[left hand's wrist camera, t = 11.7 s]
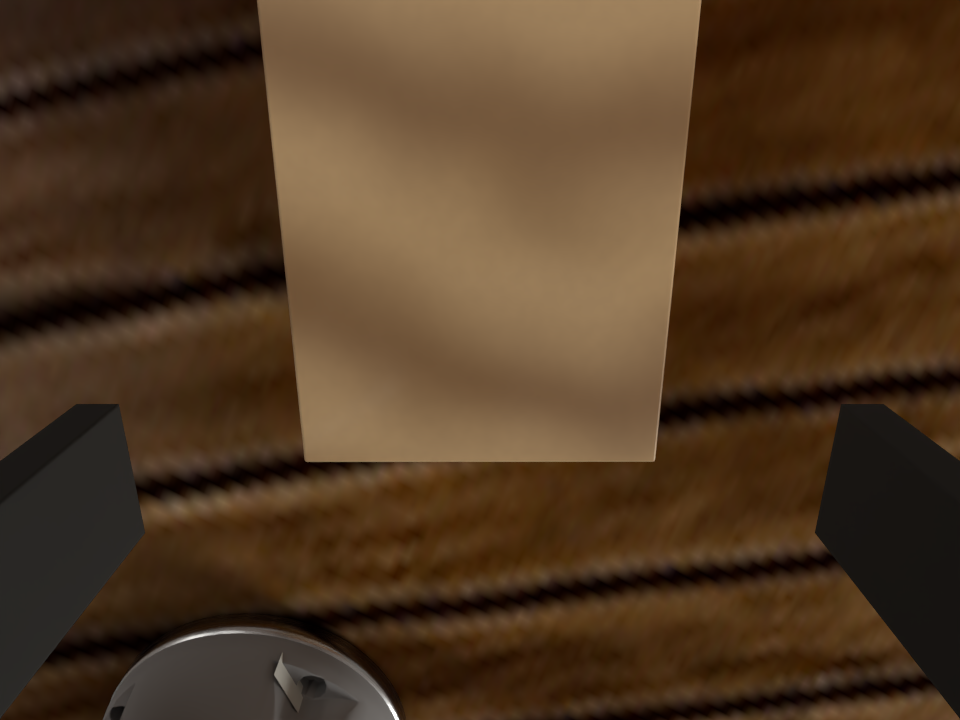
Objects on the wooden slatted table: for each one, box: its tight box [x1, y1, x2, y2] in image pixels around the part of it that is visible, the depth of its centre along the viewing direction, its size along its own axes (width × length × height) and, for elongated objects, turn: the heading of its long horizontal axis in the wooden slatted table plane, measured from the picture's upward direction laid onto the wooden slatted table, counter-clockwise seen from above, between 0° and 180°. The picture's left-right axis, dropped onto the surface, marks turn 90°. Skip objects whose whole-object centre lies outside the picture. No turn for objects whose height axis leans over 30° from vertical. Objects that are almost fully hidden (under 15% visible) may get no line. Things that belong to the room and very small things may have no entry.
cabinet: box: [257, 0, 701, 462], centre depth 21 cm, size 21×10×9 cm, turn 0°
